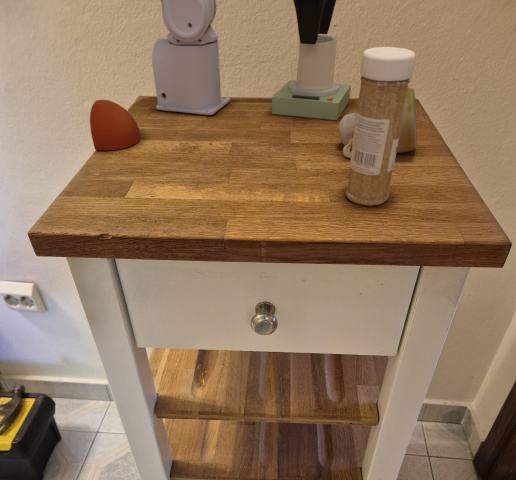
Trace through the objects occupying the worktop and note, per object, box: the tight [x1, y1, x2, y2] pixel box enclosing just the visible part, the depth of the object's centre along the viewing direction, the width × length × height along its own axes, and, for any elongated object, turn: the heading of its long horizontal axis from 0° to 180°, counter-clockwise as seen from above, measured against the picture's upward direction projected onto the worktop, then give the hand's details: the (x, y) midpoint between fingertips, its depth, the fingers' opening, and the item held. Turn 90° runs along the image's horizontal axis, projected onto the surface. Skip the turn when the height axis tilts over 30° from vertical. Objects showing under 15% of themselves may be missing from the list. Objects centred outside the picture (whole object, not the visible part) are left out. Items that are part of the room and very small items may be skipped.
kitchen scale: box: [271, 79, 352, 121], centre depth 72 cm, size 10×10×3 cm
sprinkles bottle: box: [345, 46, 416, 207], centre depth 45 cm, size 5×5×14 cm
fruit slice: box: [89, 99, 141, 152], centre depth 62 cm, size 8×7×5 cm
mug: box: [338, 87, 418, 160], centre depth 58 cm, size 8×10×10 cm
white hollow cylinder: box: [296, 34, 338, 90], centre depth 69 cm, size 5×5×6 cm
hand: (314, 38), depth 67 cm, fingers open, 7 cm apart
